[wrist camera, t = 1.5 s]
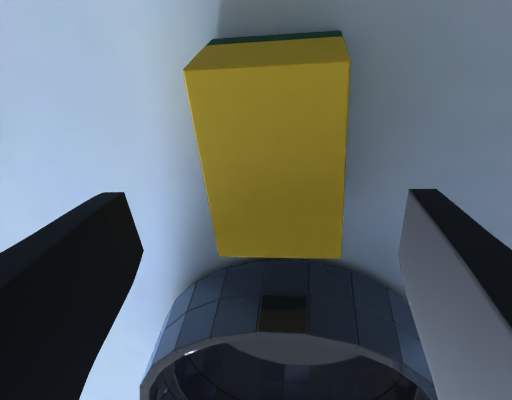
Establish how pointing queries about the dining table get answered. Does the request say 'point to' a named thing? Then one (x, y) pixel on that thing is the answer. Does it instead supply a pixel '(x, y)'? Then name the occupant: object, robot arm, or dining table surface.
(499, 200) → the dining table surface
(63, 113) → the dining table surface
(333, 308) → the bowl
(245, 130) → the sponge
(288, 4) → the dining table surface
